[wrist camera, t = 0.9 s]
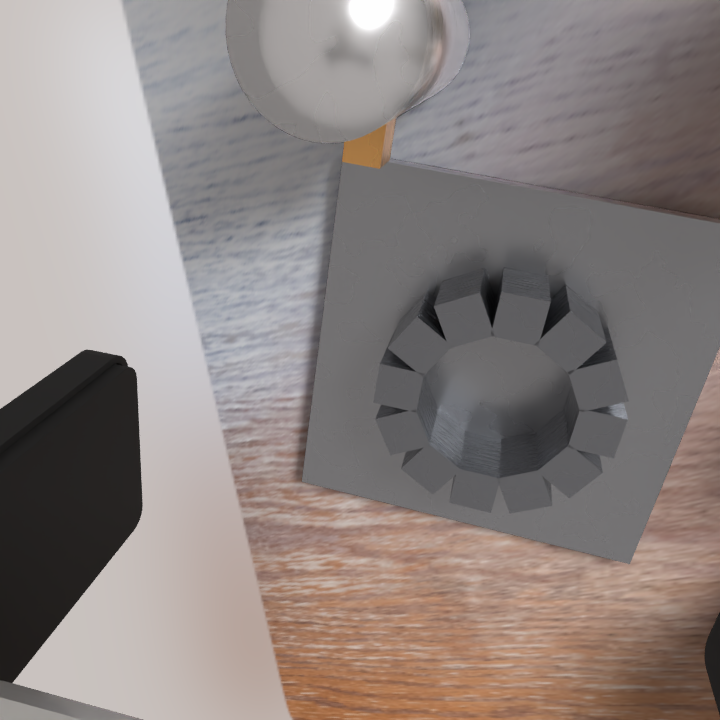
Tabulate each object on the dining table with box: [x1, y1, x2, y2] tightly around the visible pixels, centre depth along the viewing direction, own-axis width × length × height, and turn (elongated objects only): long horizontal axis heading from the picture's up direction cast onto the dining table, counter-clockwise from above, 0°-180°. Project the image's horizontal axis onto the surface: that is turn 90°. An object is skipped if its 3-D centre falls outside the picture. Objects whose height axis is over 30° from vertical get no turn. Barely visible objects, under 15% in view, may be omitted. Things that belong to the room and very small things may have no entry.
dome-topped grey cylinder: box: [226, 0, 470, 169], centre depth 23 cm, size 7×5×14 cm
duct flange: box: [302, 158, 720, 564], centre depth 32 cm, size 18×18×4 cm
